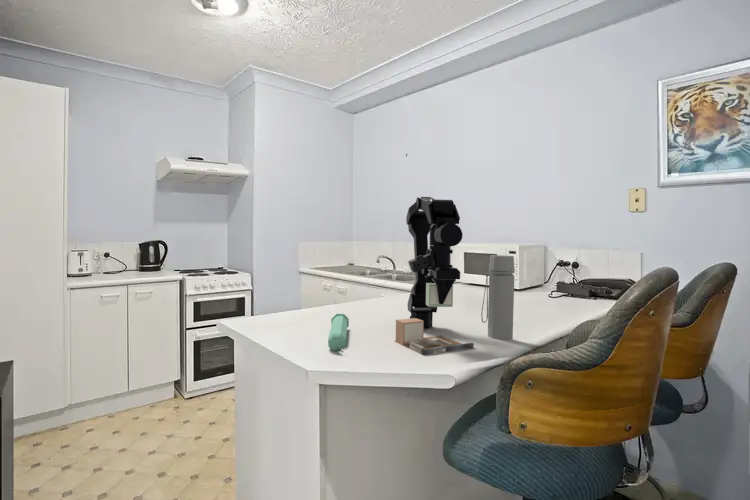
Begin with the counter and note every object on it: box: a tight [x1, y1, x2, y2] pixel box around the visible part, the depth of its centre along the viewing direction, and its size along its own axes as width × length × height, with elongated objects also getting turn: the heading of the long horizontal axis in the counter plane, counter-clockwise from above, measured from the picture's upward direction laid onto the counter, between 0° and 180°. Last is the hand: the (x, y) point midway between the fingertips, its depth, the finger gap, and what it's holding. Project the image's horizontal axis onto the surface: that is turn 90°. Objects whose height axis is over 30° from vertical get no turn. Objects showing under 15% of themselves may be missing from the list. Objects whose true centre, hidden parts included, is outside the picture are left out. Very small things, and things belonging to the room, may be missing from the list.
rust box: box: [395, 318, 425, 346], centre depth 116 cm, size 4×6×6 cm, turn 117°
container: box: [327, 313, 350, 352], centre depth 122 cm, size 6×6×25 cm
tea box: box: [426, 283, 454, 308], centre depth 115 cm, size 4×6×6 cm, turn 95°
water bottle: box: [480, 254, 516, 341], centre depth 124 cm, size 9×8×25 cm
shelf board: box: [393, 335, 475, 356], centre depth 114 cm, size 16×15×3 cm
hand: (439, 302), depth 115 cm, fingers closed on tea box, 4 cm apart
